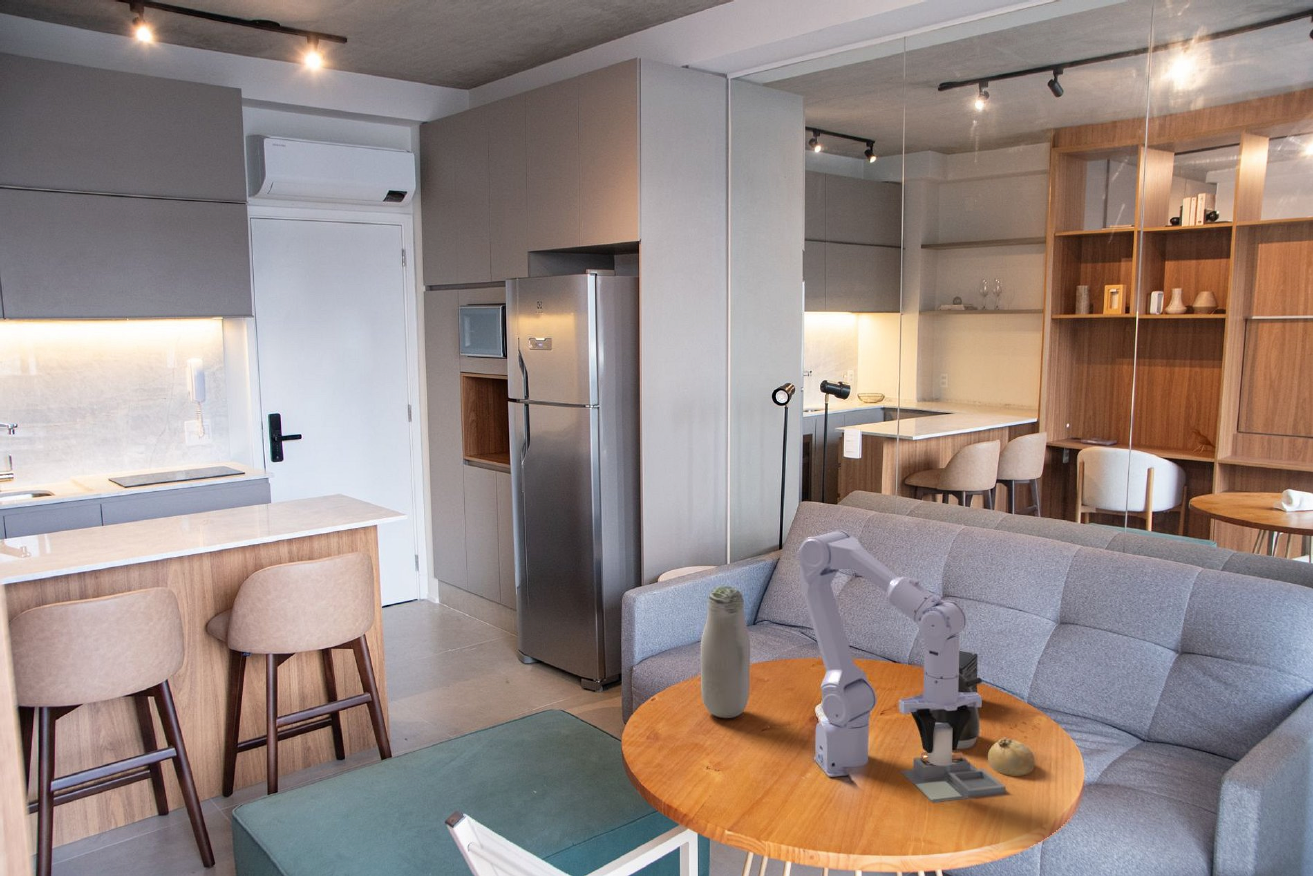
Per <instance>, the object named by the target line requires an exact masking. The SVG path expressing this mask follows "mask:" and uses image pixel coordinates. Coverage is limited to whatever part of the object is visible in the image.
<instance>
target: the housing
mask: <svg viewBox="0 0 1313 876" xmlns="http://www.w3.org/2000/svg"><path fill="white" fill-rule="evenodd" d="M925 764H926V762H924V761H922V760H921V756H920V757H919V756H918V757H913V764H912V765H913V766H912V768H913V769H906V770H899V771H900V773H901V774H902V775H904V776H905V778H906V779H908V780H909V781H910V782H911V784H912V785H914V787H915V788H917V789H918V790H919V791H920V792H921V793H922V794H923V795H924V796H925V797H926V798H927V799H928V800H929V801H930V803H932V804H934V803H941V802H942V803H943V802H951V801H960V800H966V799H967V800H968V799H976V798H977V799H978V798H982V797H983V798H984V797H993V796H1002V795H1007V794H1008V793H1007V791H1006V786H1005V785H1004V784H1003V783H1002V782H1000V781H999V780H998V779H996V778H995V777H994V776H993V775H992V774H990V773H989V772H988V771H987V770H986V769H984V768H979V769H978V768H977V767H975V765H973V764H972V763H971V762H970V761H969V760H968V759H967V758H965V757H964V756H963V758H962V759H961V760H958V762H952V763H951V764H950V765H947V766H938V765H934V764H932V765H925Z"/></svg>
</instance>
